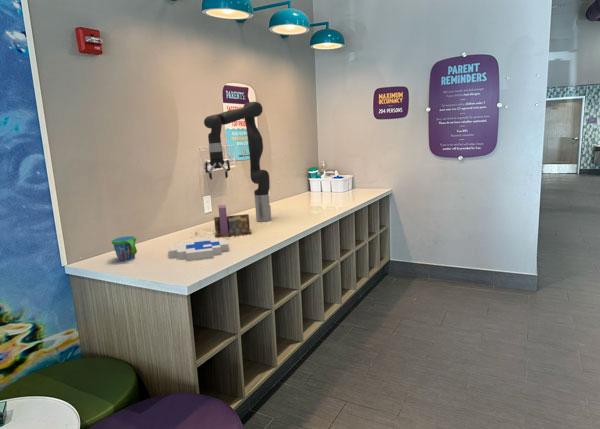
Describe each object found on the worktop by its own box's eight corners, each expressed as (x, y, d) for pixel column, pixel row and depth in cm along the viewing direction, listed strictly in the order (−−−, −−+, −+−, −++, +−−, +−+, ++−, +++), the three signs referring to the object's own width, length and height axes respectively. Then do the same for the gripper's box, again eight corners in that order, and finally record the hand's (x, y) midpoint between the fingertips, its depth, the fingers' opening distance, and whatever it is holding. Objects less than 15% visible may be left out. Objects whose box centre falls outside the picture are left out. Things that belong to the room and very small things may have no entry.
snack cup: (108, 259, 202) (105, 238, 200) (129, 254, 209) (127, 234, 207) (122, 264, 191) (120, 243, 189) (144, 259, 199) (142, 238, 197)
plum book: (227, 230, 245) (225, 204, 242) (228, 233, 235) (225, 207, 232) (220, 230, 244) (218, 205, 241) (221, 234, 234) (218, 208, 232)
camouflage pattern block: (249, 229, 249) (248, 214, 248) (251, 234, 238) (250, 217, 236) (215, 233, 246) (214, 217, 244) (215, 237, 234) (214, 221, 232)
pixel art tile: (224, 235, 223) (230, 248, 196) (225, 242, 224) (230, 256, 197) (169, 241, 216) (167, 255, 189) (170, 248, 217) (168, 264, 190)
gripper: (227, 149, 248) (230, 177, 251) (203, 151, 245) (206, 179, 248) (228, 150, 241) (231, 178, 244) (203, 152, 238) (206, 180, 241)
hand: (218, 178), depth 246 cm, fingers open, 8 cm apart
